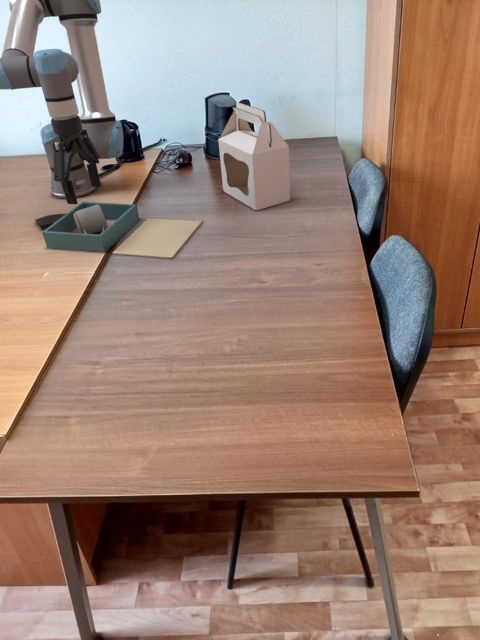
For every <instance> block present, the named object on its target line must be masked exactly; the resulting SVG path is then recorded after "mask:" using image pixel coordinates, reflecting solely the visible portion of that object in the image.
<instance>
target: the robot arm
mask: <svg viewBox="0 0 480 640" xmlns="http://www.w3.org/2000/svg"><path fill="white" fill-rule="evenodd" d="M8 3H9V4H8V5H9V6H8V8H9V10H10V17H9V20H8V25H7V26H8V27H7V30H6V35H5V40H4V43H3V49H2V52H1V53H2V54H1V56H0V90H2V91H3V90H11V91H13V90H21V89H32V88H41V90H42V94H43V98H44V101H45V104H46V108H47V112H48V116H49V117H50V118H51V119H50V123H48V124H45V125H44V126H43V127H42V128H41V129H40V132H39V133H40V138H41V143H42V145H43V149H44V152H45V155H46V159H47V163H48V165H49V168H50V172H51V174H50V175H51V176H50V191H51V194H52V196H53V197H54V198H57V199H64V200H66V203H67V205H78V200H77V198H80V197H81V198H82V197H84V196H87V195H89V194H91V193H93V192H94V191H96V189H97V188H101V187H102V183H101V179H100V177H102V176H104V175H106V174H109V173H111V172H112V171H114V170H115V169H117V168H118V166H120V165H121V164H122V163H123V162H125V161H126V160H128V158H126V159H123V158H122V159H123V160H122V161H120V160H119V161H118V162H116V163H115V164H114V165H113V166H112V167H111V168H108V169H107V170H104V171H103V172H99V170H98V166H97V164H100V160H110V159H116V158H119V157H120V158H121V156H122V155H123V153H124V152H123V151H124V130H123V124H122V122H121V121H120V120H119V119H118V120H117V119H116V115H115V114H114V112H112V111H111V110H110V105H109V99H108V95H107V89H106V83H105V78H104V73H103V67H102V61H101V57H100V51H99V45H98V40H97V34H96V30H95V27H96V25H97V23H98V22H99V19H98V15H100V14H101V13H102V6H101V0H9V1H8ZM52 17H53V18H55V17H58V21H59V24H60V25H61V26H62V27H63V28H64V29H65V30H66V35H67V39H68V40H67V41H68V45H69V50H70V53H69V52H67V51H64V50H62V49H60V48H47V49H40V50H36V51H35V48H36V42H37V38H38V32H39V26H40V24H41V23H43V21H44V19H45V18H52ZM75 81H76V83H77V84H76V85H77V88H78V93H79V98H80V103H81V107H82V108H81V109H82V113H81V116H79V113H80V111H79V107H78V102H77V100H76V97H75V93H74V88H73V84H72V83H74V82H75ZM162 141H164V142H165V141H166V139H165V138H164V139H163V140H162V139H161V138H160V139H159V140H158V141H157V142H154V143H152V144H149V145H147V146H144V147H142V150H143V151H145V150H147V149H151V148H152V147H156V146H158V145H161V143H162ZM85 161H86V162H87V164H85Z"/></svg>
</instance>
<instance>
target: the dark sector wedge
mask: <svg viewBox="0 0 480 640" xmlns="http://www.w3.org/2000/svg"><path fill="white" fill-rule="evenodd" d="M67 213H68V212H66V213H55V214H47V215H44V216H42V217H38V218H35V220H34V221H35V224H36V225H37V226H38V227H39V228H40V230H41V231H44V230H46V229H47V228H48V227H50V226H51V225H52V224H54V223H55V222H56V221H58V220H59V219H60V218H62V217H63V216H64V215H66V214H67Z"/></svg>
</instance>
